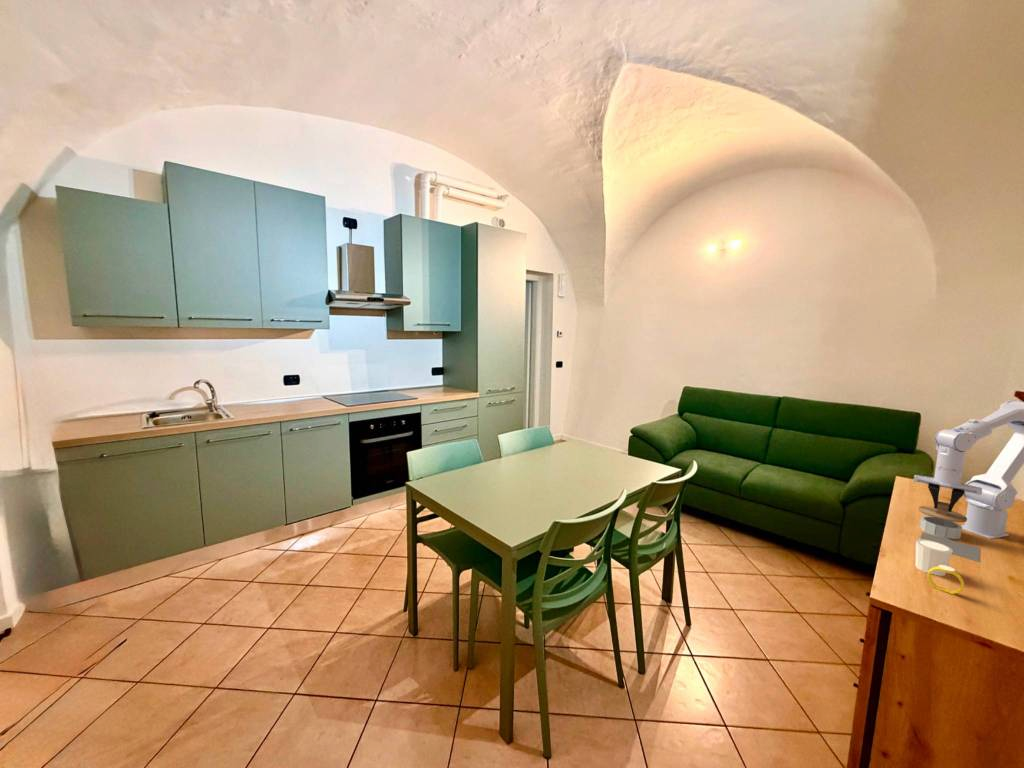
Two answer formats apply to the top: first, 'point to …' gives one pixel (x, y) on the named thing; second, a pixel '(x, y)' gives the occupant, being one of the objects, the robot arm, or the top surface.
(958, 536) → the grey curved piece
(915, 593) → the top surface
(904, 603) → the top surface
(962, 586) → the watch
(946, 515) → the walnut lid
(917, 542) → the white cylinder
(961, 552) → the rubber mat
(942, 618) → the top surface
